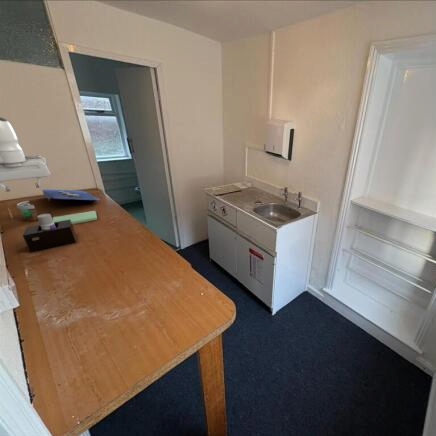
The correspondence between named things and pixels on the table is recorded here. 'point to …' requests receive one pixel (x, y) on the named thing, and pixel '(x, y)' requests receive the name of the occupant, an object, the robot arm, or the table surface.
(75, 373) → the table surface
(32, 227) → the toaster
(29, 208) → the food container
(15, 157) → the robot arm
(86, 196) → the blue sloped panel
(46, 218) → the container
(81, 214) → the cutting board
